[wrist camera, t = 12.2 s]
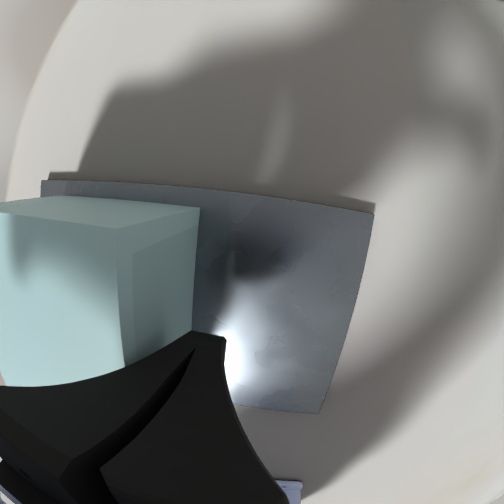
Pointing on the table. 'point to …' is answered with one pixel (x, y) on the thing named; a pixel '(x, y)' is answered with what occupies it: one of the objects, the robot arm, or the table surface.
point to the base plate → (265, 284)
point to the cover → (91, 285)
